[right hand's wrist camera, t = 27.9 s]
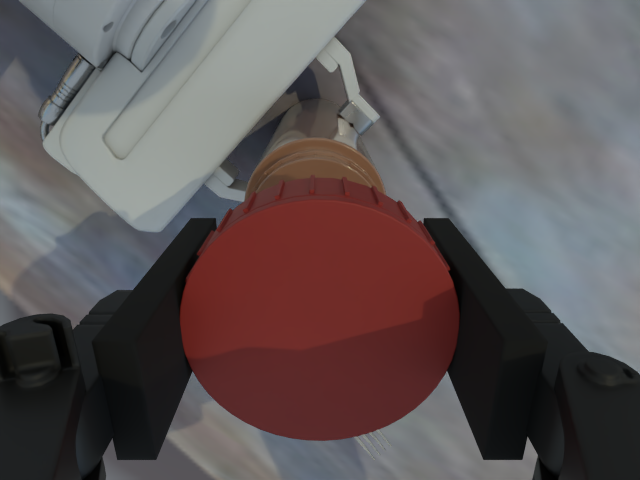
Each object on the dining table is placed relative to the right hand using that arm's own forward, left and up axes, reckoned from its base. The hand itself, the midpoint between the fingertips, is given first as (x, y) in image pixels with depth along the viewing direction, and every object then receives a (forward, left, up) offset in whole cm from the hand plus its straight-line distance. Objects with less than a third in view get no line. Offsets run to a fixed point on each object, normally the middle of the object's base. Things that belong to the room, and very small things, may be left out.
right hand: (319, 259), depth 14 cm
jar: (0, 0, -19) cm, 19 cm away
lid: (0, 0, +4) cm, 4 cm away
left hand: (0, -1, -13) cm, 13 cm away
